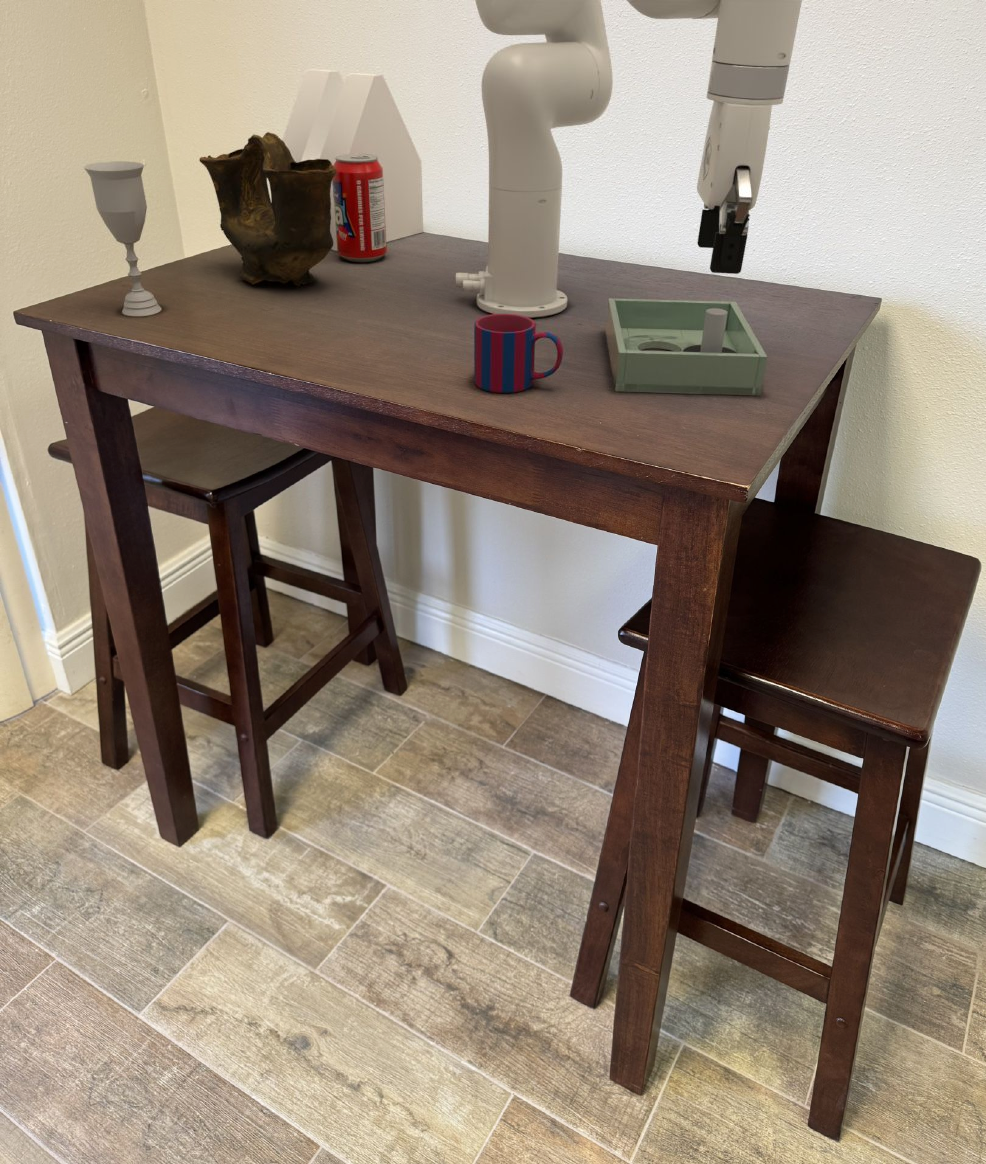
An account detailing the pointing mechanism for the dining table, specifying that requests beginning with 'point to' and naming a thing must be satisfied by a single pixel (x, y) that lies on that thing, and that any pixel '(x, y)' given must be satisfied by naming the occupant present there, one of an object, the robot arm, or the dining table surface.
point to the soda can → (359, 207)
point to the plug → (712, 333)
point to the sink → (682, 366)
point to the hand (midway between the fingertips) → (717, 259)
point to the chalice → (124, 220)
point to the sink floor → (674, 342)
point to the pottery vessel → (274, 209)
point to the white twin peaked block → (359, 139)
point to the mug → (508, 353)
